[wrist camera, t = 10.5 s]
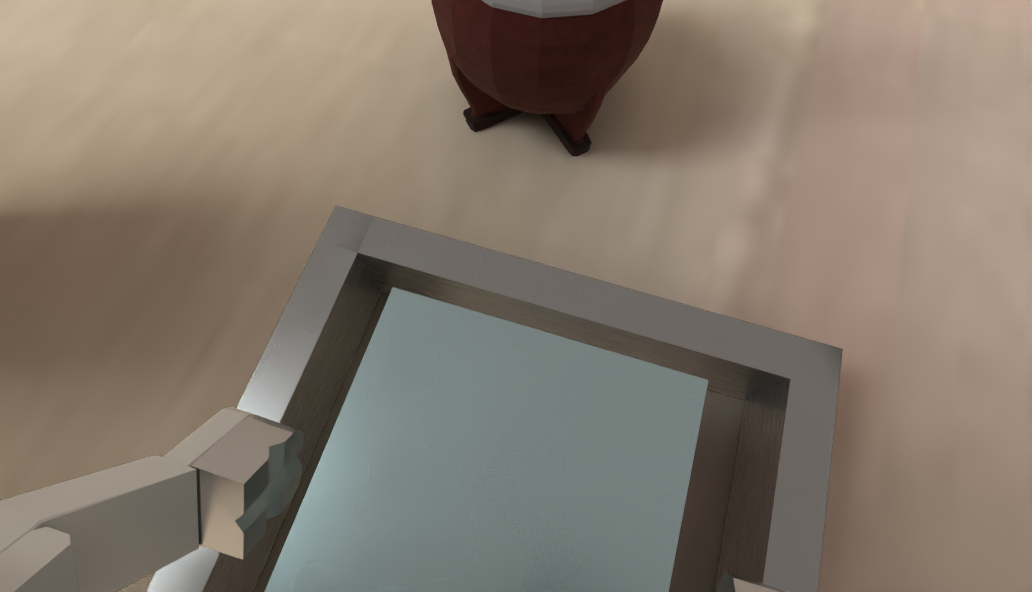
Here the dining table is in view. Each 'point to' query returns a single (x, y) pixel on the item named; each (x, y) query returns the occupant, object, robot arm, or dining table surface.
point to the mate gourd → (542, 57)
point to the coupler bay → (573, 315)
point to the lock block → (495, 464)
